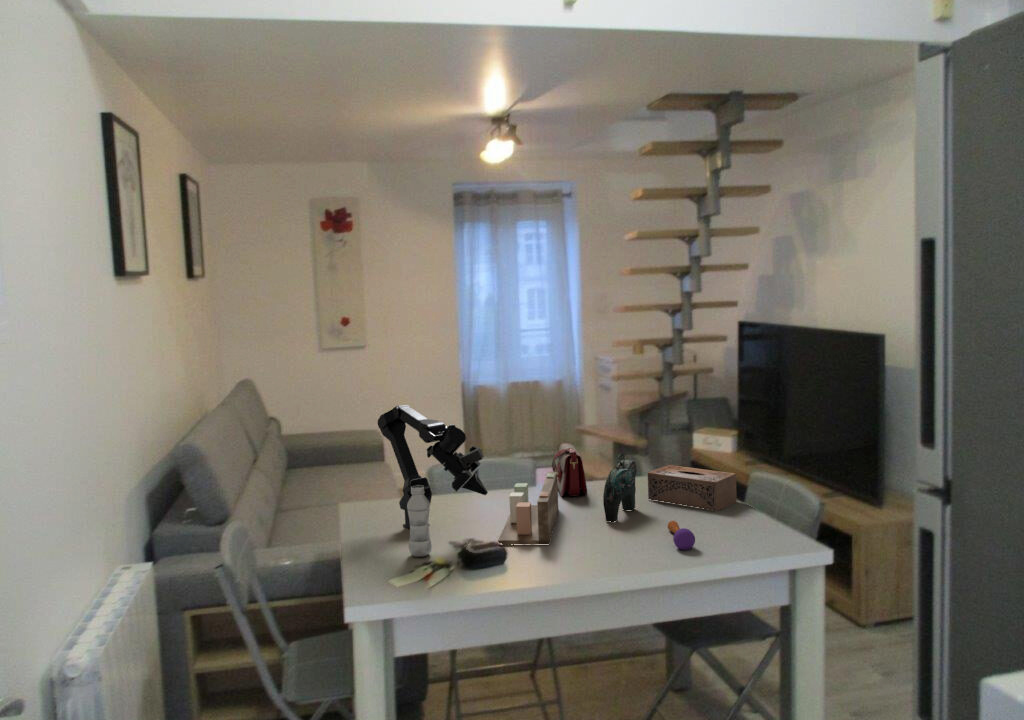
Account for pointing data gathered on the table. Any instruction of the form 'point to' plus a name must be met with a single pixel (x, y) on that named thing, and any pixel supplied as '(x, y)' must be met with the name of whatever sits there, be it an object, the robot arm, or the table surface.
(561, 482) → the handbag
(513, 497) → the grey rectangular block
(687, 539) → the purple maraca
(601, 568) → the table surface
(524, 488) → the pale green block
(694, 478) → the tissue box cover
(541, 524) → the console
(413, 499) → the plastic bottle
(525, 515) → the pink rectangular block
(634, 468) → the dark green arched piece
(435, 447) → the robot arm
